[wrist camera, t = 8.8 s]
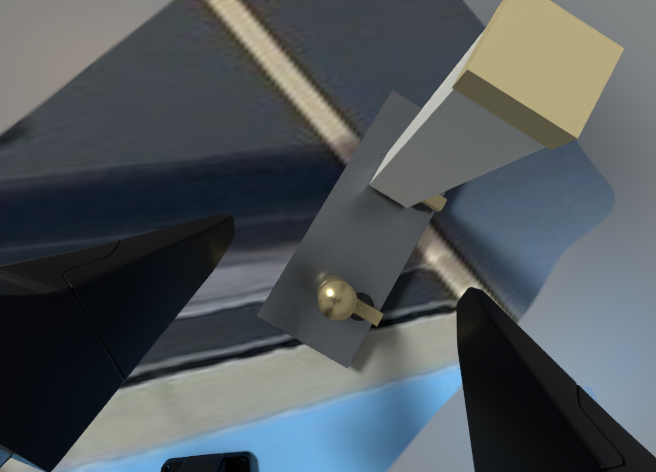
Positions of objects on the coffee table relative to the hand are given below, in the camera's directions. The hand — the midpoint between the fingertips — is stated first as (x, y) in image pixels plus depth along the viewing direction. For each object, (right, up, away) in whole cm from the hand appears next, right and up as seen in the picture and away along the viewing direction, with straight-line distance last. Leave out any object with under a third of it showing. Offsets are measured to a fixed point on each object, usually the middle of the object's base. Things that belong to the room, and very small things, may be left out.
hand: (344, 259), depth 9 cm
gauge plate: (+3, +2, +12) cm, 12 cm away
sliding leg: (+6, +5, +11) cm, 13 cm away
